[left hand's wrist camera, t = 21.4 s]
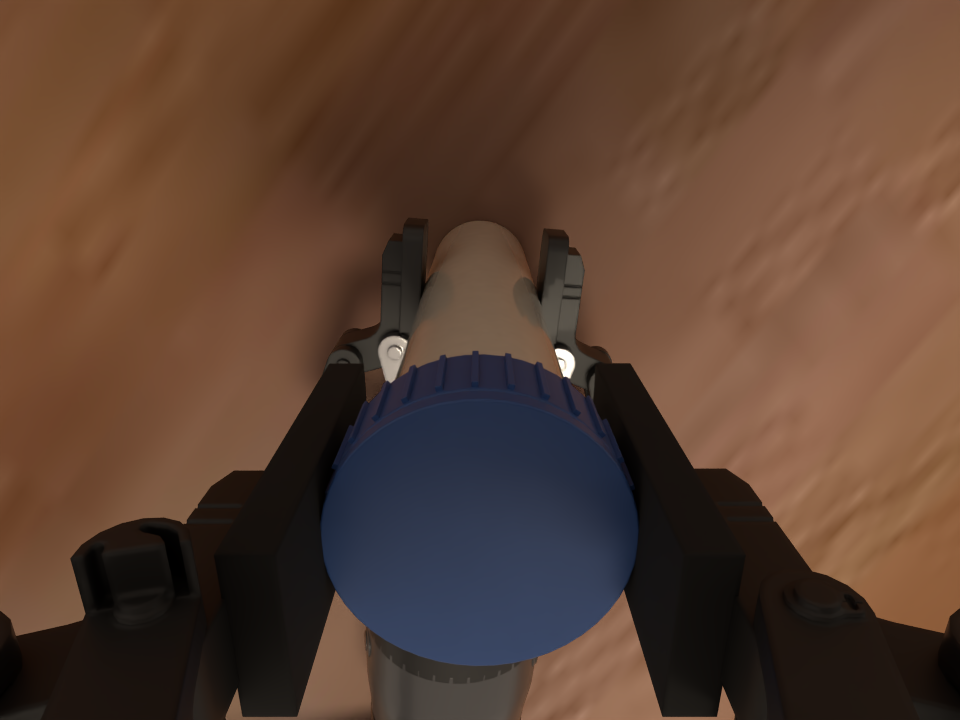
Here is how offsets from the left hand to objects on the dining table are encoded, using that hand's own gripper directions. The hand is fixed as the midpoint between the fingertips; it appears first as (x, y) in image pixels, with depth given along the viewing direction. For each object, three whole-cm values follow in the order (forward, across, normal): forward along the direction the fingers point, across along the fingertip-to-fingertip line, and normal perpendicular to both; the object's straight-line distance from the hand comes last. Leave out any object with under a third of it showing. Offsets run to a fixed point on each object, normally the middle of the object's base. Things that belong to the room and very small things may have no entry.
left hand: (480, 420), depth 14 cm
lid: (-4, 0, 0) cm, 4 cm away
